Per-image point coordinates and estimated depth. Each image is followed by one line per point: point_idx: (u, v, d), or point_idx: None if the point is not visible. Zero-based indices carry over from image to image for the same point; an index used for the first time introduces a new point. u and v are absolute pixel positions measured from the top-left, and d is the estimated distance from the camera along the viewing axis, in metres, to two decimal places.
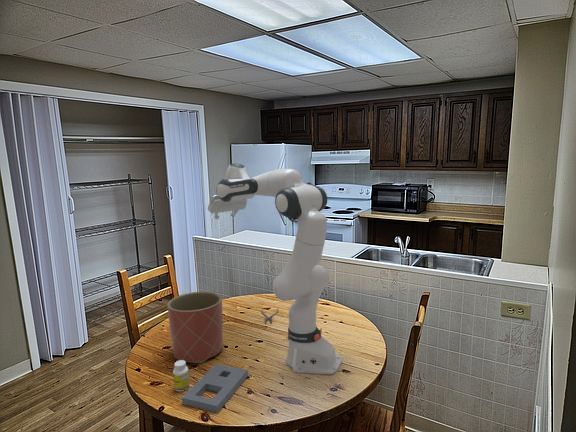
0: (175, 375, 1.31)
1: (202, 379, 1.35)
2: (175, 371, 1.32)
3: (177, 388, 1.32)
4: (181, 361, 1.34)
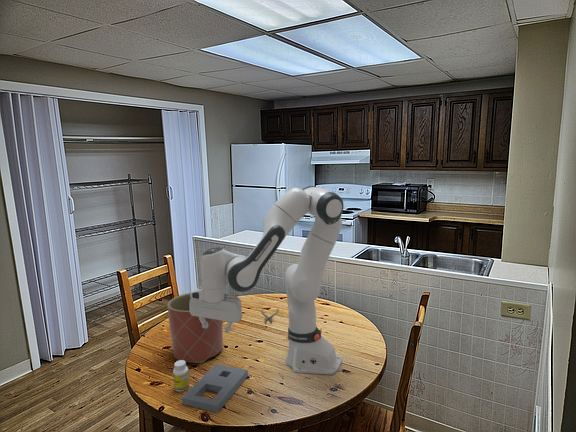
0: (175, 375, 1.31)
1: (202, 379, 1.35)
2: (175, 371, 1.32)
3: (177, 388, 1.32)
4: (181, 361, 1.34)
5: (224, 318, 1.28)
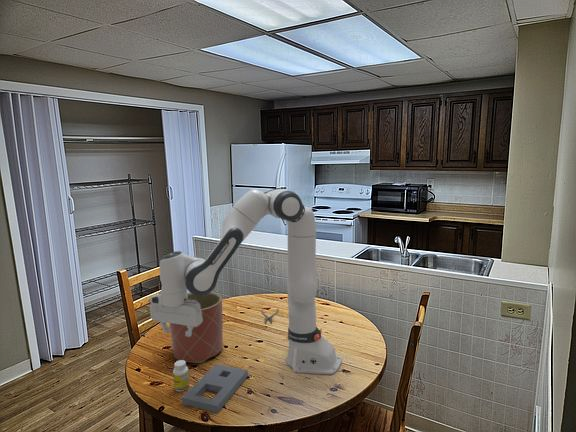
0: (175, 375, 1.31)
1: (202, 379, 1.35)
2: (175, 371, 1.32)
3: (177, 388, 1.32)
4: (181, 361, 1.34)
5: (184, 322, 1.27)
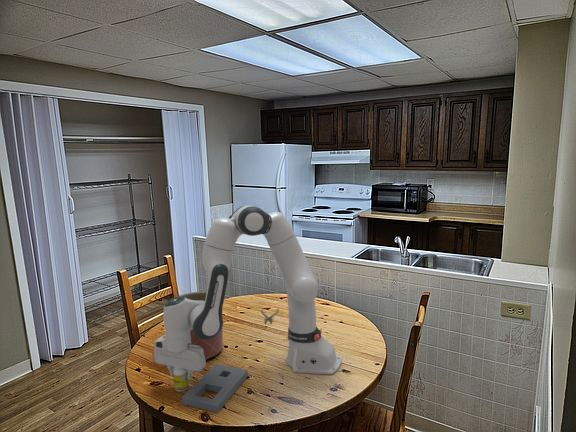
0: (175, 375, 1.31)
1: (202, 379, 1.35)
2: (175, 371, 1.32)
3: (177, 388, 1.32)
4: None
5: (187, 367, 1.30)
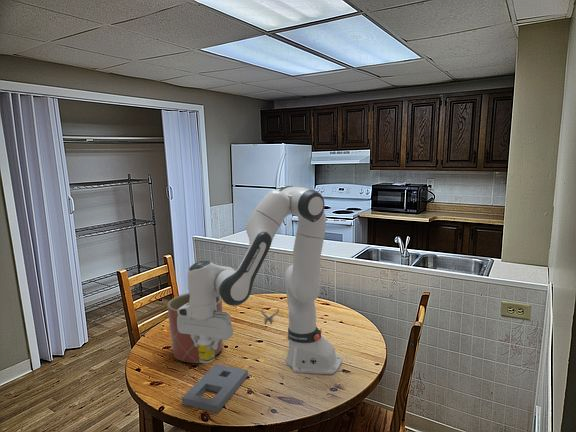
0: (200, 345, 1.23)
1: (202, 379, 1.35)
2: (200, 341, 1.23)
3: (202, 359, 1.23)
4: None
5: (214, 335, 1.21)
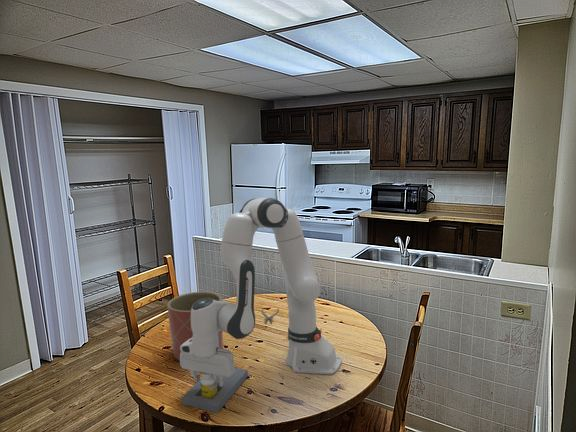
0: (203, 385, 1.25)
1: None
2: (203, 381, 1.25)
3: None
4: None
5: (216, 372, 1.23)
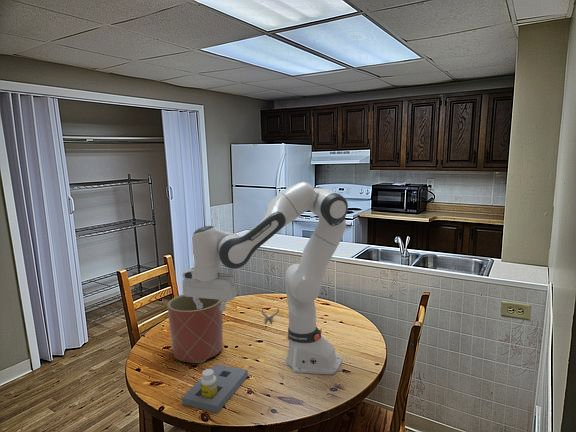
0: (203, 385, 1.25)
1: None
2: (203, 381, 1.25)
3: None
4: (208, 370, 1.28)
5: (218, 297, 1.27)
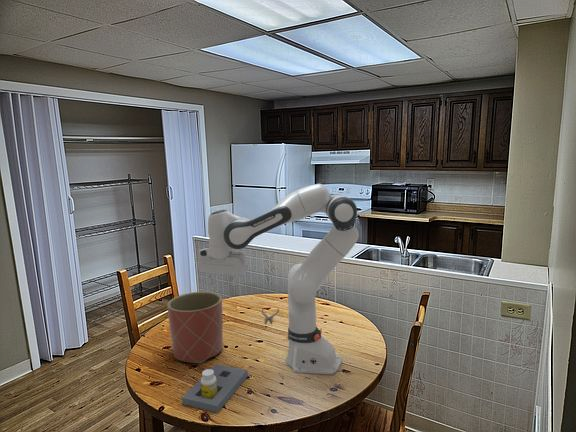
0: (203, 385, 1.25)
1: None
2: (203, 381, 1.25)
3: None
4: (209, 370, 1.28)
5: (229, 273, 1.42)
